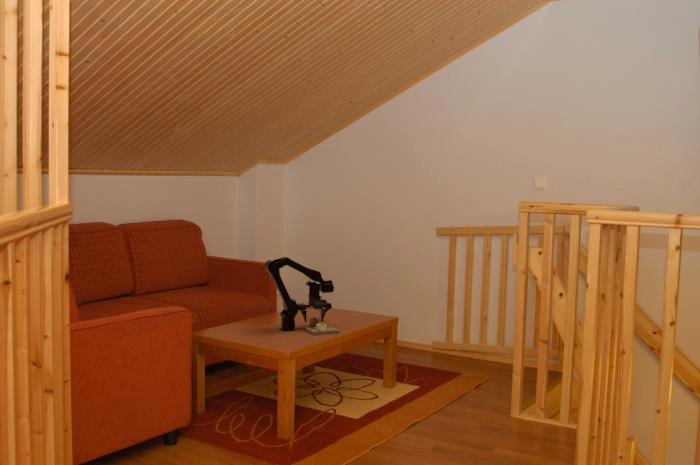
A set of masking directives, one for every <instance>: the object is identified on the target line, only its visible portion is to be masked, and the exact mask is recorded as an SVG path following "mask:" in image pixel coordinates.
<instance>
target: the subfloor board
mask: <svg viewBox="0 0 700 465" xmlns="http://www.w3.org/2000/svg"><path fill="white" fill-rule="evenodd" d="M304 331H305V332H306V333H309V334H311V335H312V336H321V335H331V334H332V335H334V334H335V335H336V334H340V333H341V330H340V329H338V328H336V327H334V326H333V325H327V330H323V331H319V330H317V329H316V327H304Z"/></svg>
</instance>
